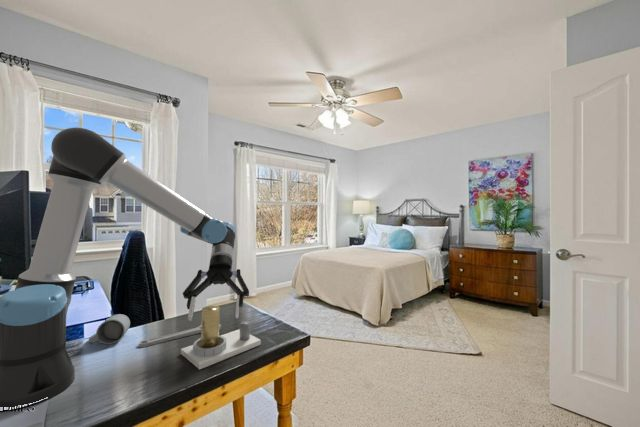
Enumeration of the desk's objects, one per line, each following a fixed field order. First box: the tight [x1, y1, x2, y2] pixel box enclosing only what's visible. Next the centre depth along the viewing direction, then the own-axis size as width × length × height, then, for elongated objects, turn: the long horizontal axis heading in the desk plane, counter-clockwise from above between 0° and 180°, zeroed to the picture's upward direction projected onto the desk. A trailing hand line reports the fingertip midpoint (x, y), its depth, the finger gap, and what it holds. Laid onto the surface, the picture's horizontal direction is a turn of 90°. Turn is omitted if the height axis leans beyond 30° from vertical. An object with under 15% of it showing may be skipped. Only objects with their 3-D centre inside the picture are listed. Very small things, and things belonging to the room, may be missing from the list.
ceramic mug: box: [88, 313, 131, 345], centre depth 93 cm, size 11×8×8 cm
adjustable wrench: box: [138, 323, 222, 348], centre depth 98 cm, size 25×6×2 cm, turn 125°
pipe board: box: [180, 320, 262, 370], centre depth 88 cm, size 20×12×6 cm, turn 138°
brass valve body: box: [199, 305, 221, 348], centre depth 85 cm, size 6×6×12 cm
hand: (213, 317), depth 87 cm, fingers open, 13 cm apart
